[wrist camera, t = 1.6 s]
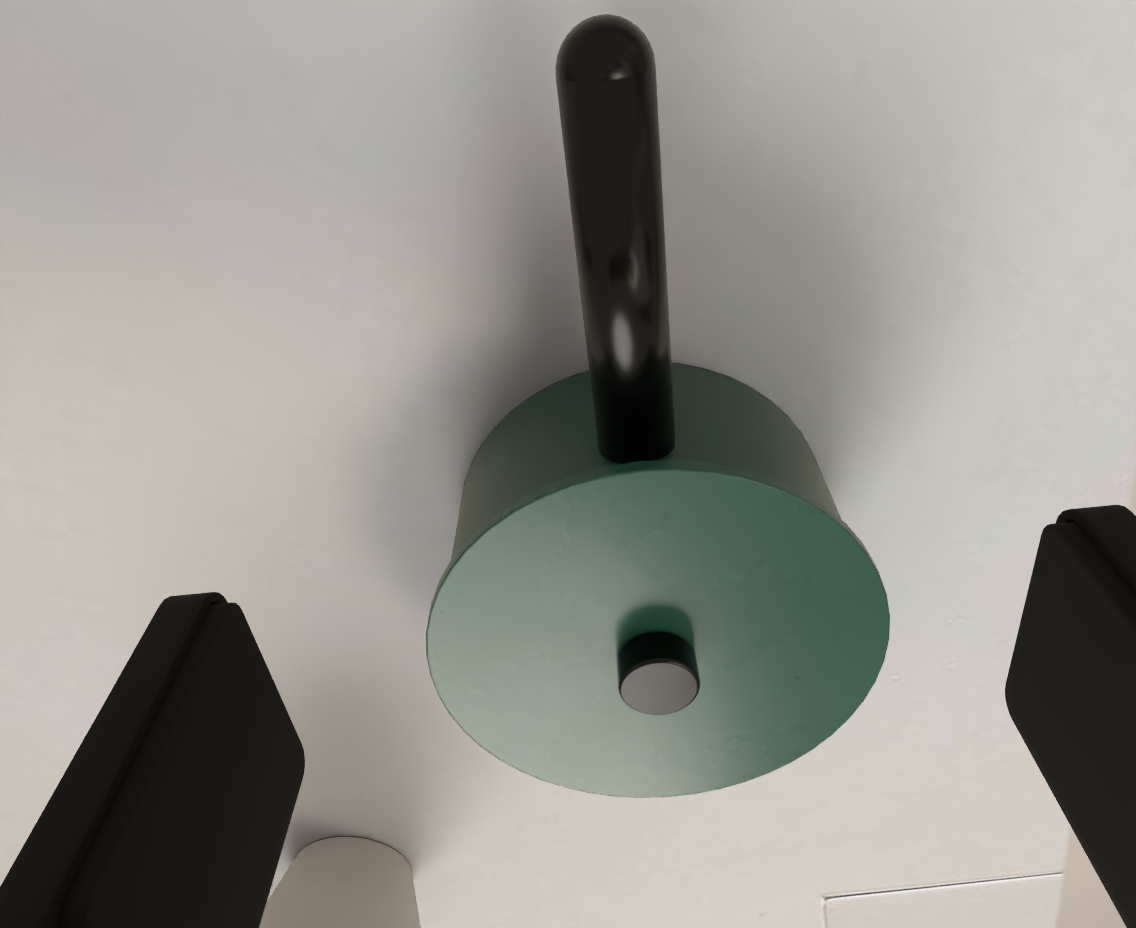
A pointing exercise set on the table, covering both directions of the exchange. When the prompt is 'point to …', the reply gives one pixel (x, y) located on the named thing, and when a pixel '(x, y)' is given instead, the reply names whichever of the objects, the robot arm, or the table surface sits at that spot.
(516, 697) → the saucepan
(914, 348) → the table surface
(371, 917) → the cup
